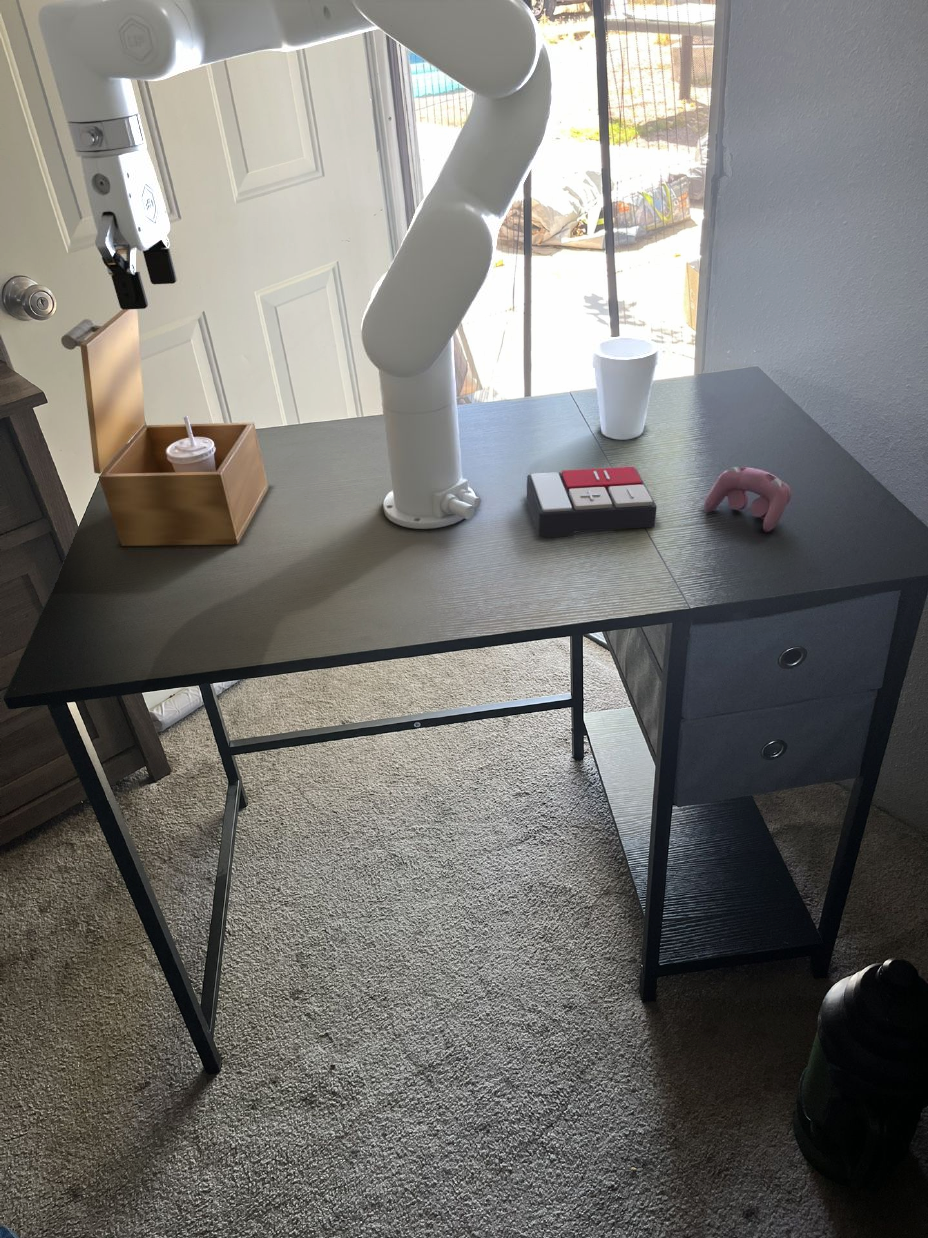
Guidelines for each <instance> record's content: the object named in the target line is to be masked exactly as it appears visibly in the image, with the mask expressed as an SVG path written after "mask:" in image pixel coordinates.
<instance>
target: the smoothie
mask: <svg viewBox="0 0 928 1238" xmlns="http://www.w3.org/2000/svg"><path fill="white" fill-rule="evenodd" d="M182 418H183V421H184V424H185V425H186V429H187V432H188V436H189V438H186V439H182V440H179V441H176V442H174V443H173V444H171V445H170V446H169V447H168V448H167V449H166V454H167V459H168V461H170V462H172V465H173V467H174V470H175V472H216V468H215V459H214V452H215V449H216V448H215V446H214V442H213V441H212V440H211V439H209V438H205V437H193V434H192V431H191V427H190V424H191V423H190V420H189V416H188V415H186V414H185V415H183V417H182Z"/></svg>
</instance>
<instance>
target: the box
mask: <svg viewBox="0 0 928 1238" xmlns="http://www.w3.org/2000/svg"><path fill="white" fill-rule="evenodd" d="M190 427H191V431H192V434H193V437H205V438H209V439H211V440H212V441H213V442H214V446H215V448H216V449H215V452H214V459H215V468H216V472H175V470H174V467H173V465H172V462H170V461H168V459H167V454H166V449H167V448H168V447H169V446H170V445H171V444H173V443H174V442H176V441H179V440H182V439H186V438H189V436H188V432H187V429H186V425H185V423H183V424H177V423H176V424H147V425H146V424H143V426H142V427H141V428H140V429H139V430H138V431H137V432H136V434H135V435H134V436H133V437H132V438H131V439H130V440H129V442H128V443H127V444H126V445H125V446H124V447H123V448H122V450H121V451H120V452H119V453H118V454H117V455H116V456H115V458H114V459H113V460H112V461H111V462H110V463H109V464H108V466H107V467H106V468H105V469H104V470H103V471H102V472H101V474H99V475H98V480H99V482H100V485H101V488H102V491H103V494H104V495H103V496H104V498H105V500H106V504H107V507H108V510H109V512H110V515H111V518H112V521H113V525H114V527H115V530H116V533H117V537H118V540H119V542H120V545H121V546H122V547H134V546H135V547H137V546H139V547H140V546H141V547H142V546H212V545H213V546H217V545H220V546H221V545H239V543H240V541H241V539H242V538H243V536H244V534H245V532H246V530H247V528H248V526H249V525H250V523H251V521H252V519H253V517H254V516H255V514H256V512H257V510H258V508H259V506H260V504H261V503H262V501H263V499H264V497H265V495H266V494H267V491H268V489H269V485H268V480H267V475H266V471H265V465H264V463H263V457H262V453H261V447H260V444H259V438H258V435H257V430H256V425H255V422H254V421H252V422H251V421H250V422H224V423H223V422H220V423H219V422H218V423H217V422H216V423H214V422H213V423H190Z"/></svg>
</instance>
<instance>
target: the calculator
mask: <svg viewBox="0 0 928 1238" xmlns="http://www.w3.org/2000/svg"><path fill="white" fill-rule="evenodd" d="M526 501H527V505H528V507H529V510H530V511H529V512H530V513H531V517H532V519H533V523H534V526H535V529H536V533H537V535H538V537H539V538H541V539H545V538H561V537H569V536H571V535H572V534H574V533H577V532H592V531H593V532H594V531H609V530H624V529H640V528H641V529H643V528H653V527H655V523H656V518H657V517H656V515H657V504H656V502H655V500H654V498H653V497H652V495H651V493H650V492H649V489H648V488H647V485H646V484H645V482H644V481H643V478H642V477H641V475H640V473H639V471H638V470H637V468H635V467H634V466H619V467H599V468H583V469H566V470H565V469H564V470H561V472H557V471H553V472H535V473H530V474H528V475H527V476H526Z"/></svg>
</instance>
